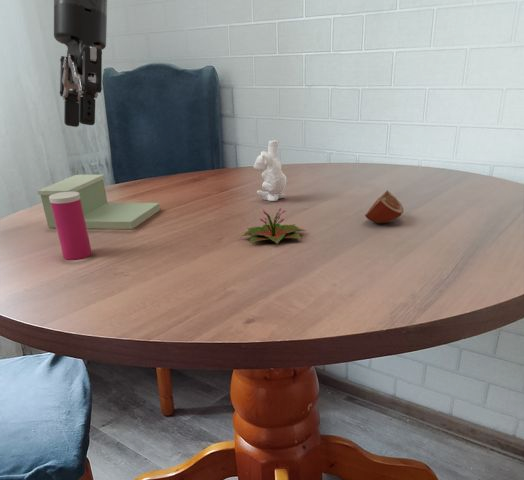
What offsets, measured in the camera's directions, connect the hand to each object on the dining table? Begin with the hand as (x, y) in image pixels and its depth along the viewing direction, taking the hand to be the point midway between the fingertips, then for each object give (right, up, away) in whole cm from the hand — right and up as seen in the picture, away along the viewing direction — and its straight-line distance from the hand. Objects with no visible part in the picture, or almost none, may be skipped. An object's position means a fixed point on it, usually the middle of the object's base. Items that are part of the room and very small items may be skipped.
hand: (79, 125), depth 85 cm
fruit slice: (+51, -12, +14) cm, 54 cm away
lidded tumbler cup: (-2, -19, +6) cm, 20 cm away
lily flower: (+31, -16, +9) cm, 36 cm away
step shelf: (-3, -8, +25) cm, 27 cm away
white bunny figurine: (+31, -3, +33) cm, 45 cm away
